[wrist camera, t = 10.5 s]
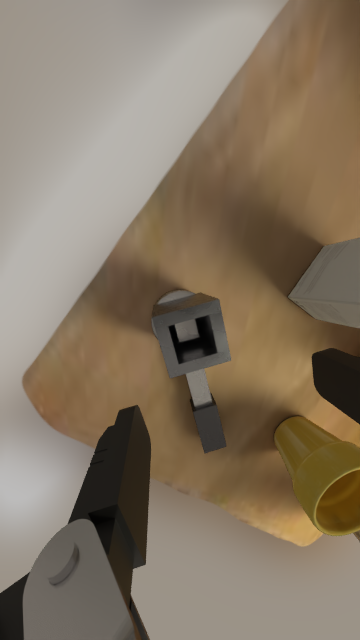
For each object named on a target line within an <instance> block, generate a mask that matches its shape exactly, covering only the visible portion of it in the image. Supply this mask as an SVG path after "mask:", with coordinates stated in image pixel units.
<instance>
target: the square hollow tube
mask: <svg viewBox="0 0 360 640" xmlns="http://www.w3.org/2000/svg"><path fill="white" fill-rule="evenodd" d="M195 318H198V323H199V327H200V332H198V334H199V337H197V338H194V339H190V340H186V341H183V342H179V339H178V338H175V339H172V335H171V332H170V328H169V326H170V325H174V324H177V323H181V322H185V321H188V320H192V319H195ZM152 320H153V323H154V327H155V330H156V333H157V337H158V340H159V343H160V347H161V350H162V353H163V357H164V360H165V363H166V367H167V370H168V373H169V377H170V378H173V377H177V376H180V375H183V374H187V373H190V372H194V371H197V370H200V369H204V368H207V367H211V366H214V365H217V364H221V363H224V362H228V361H231V356H230V351H229V346H228V341H227V336H226V331H225V327H224V322H223V317H222V312H221V307H220V302H219V299H217V298H214V297H212V296H209V295H206V294H203V293H197V294H193V295H190V296H186V297H182V298H179V299H175V300H171V301H167V302H164V303H160V304H156V305H154V306H153V313H152Z"/></svg>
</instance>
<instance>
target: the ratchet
mask: <svg viewBox="0 0 360 640" xmlns="http://www.w3.org/2000/svg"><path fill="white" fill-rule="evenodd" d="M193 294H195V293H193V292H190V291H187V290H173V291H170V292H168V293H166V294H164V295H163V296H162V297H161V298H160V299H159V300H158V301H157V303H156V304H160V303H164V302H167V301H171V300H175V299H179V298H182V297H186V296H190V295H193ZM156 304H155V305H156ZM169 328H170V332H171V335H172V339H175V338H178V339H179V342H183V341H186V340H190V339H194V338H197V337H199V334H198V332H200V327H199V323H198V318H195V319H192V320H188V321H185V322H181V323H177V324H174V325H170V326H169ZM152 329H153V332H154V334H155V336H156V338H157V339H158V337H157V333H156V330H155V327H154V323H153V320H152ZM186 377H187V381H188V384H189V388H190V392H191V395H192V399H190V402H191V406H192V410H193V414H194V417H195V421H196V424H197V428H198V432H199V435H200V439H201V442H202V446H203V450H204V453H208V452H211V451H214V450H217V449H220V448H223V447H227V446H226V442H225V438H224V434H223V430H222V425H221V421H220V417H219V413H218V409H217V405H216V403H215V400H214V398H213V396H212V394H211V393H210V391H209V387H208V382H207V378H206V374H205V370H204V369H200V370H197V371H194V372H190V373H187V374H186Z"/></svg>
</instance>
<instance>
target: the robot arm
mask: <svg viewBox="0 0 360 640" xmlns="http://www.w3.org/2000/svg"><path fill="white" fill-rule="evenodd" d="M312 367H313V378H314V385H315V388H316V390H317V391H318V393H319V394H320V395H321V396H322V397H323V398H324V399H326V400H327V401H328V402H330V403H331V404H333V405H334V406H335V407H337V408H338V409H339V410H341V411H342V412H344V413H345V414H346V415H348V416H349V417H350V418H352V419H353V420H355V421H356V422H357V423H359V424H360V357H355V356H352V355H350V354H347V353H345V352H342V351H340V350H337V349H334V348H329V349H326V350H323V351H319V352H316V353H314V354H313V355H312ZM94 453H95V455H93V458H92V460H91V463H90V467H89V468H88V471H87V474H86V476H85V479H84V482H83V485H82V487H81V490H80V493H79V495H78V498H77V501H76V503H75V506H74V509H73V511H72V514H71V517H70V519H69V522H68V525H66V526H65V527H63V528H62V529H61V530H60V531H59V532H57V533H56V534H55V535H54V537H53V538H52V539H51V540H50V541H49V542H48V543H47V545H46V546H45V547H44V549H43V550H42V552H41V553H40V555H39V556H38V558H37V559H36V561H35V563H34V565H33V567H32V569H31V571H30V572H29V573H28V574H27V575H25V576H24V577H22V578H21V579H20V580H18V581H17V582H15V583H14V584H13V585H11V586H10V587H9V588H7V589H6V590H4V591H3V592H1V593H0V640H150V639H149V636H148V634H147V631H146V629H145V627H144V624H143V622H142V620H141V618H140V615H139V613H138V611H137V608H136V606H135V603H134V601H133V599H132V596H131V584H132V572H133V569H134V568H137V567H140V566H143V565H145V564H146V547H147V546H146V545H147V525H148V504H149V503H148V502H149V482H150V481H149V480H150V461H151V442H150V437H149V433H148V430H147V427H146V425H145V422H144V419H143V416H142V414H141V411H140V408H139V406H138V405H135V406H132V407H128V408H125V409H122V410H119V412H118V415H117V418H116V422H115V425H113V426H110V427H108V428H107V429H106V431H105V432H104V433H103V435H102V436H101V438H100V439H99V441H98V444H97V447H96V449H95V452H94ZM353 534H354V535H355V536H356V537H357V539H358V540H359V541H360V530H359V531H356V532H354V533H353Z"/></svg>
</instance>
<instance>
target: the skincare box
mask: <svg viewBox="0 0 360 640" xmlns="http://www.w3.org/2000/svg"><path fill="white" fill-rule="evenodd" d="M288 298H289V299H291V300H292V301H293V302H295V303H296V304H297V305H298V306H300V307H301V308H302V309H304V310H305V311H306V312H307V313H309V314H310V315H311V316H312V317H314V318H316V319H317V320H322V321H326V322H331V323H336V324H341V325H345V326H350V327H355V328H360V238H356V239H352V240H348V241H343V242H339V243H335V244H331V245H326V246H324V247H323V248H322V249H321V251H320V252H319V254H318V255H317V257H316V258H315V259H314V261H313V262H312V264H311V265H310V266H309V268H308V269H307V271H306V272H305V273H304V275H303V276H302V278H301V279H300V280H299V282H298V283H297V285H296V286H295V288H294V289H293V290H292V292H291V293H290V294H289V296H288Z"/></svg>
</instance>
